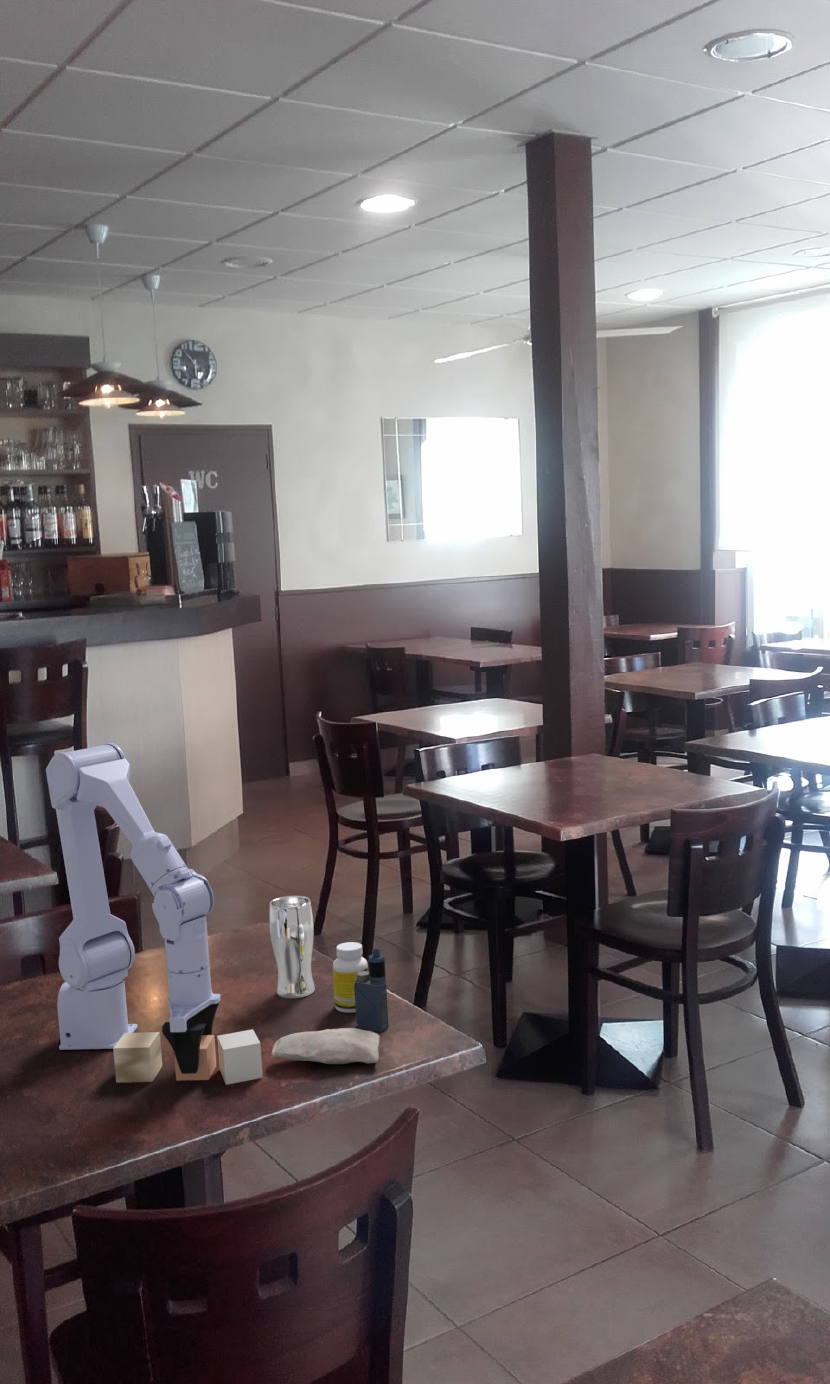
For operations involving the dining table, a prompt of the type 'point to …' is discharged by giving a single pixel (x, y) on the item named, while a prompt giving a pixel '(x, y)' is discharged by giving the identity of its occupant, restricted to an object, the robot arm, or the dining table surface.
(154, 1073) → the birch cube
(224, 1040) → the white cube
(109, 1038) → the robot arm
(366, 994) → the vaping device
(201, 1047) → the terracotta cube
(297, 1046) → the decorative stone
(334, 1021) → the dining table surface
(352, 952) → the supplement bottle
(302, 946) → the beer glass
